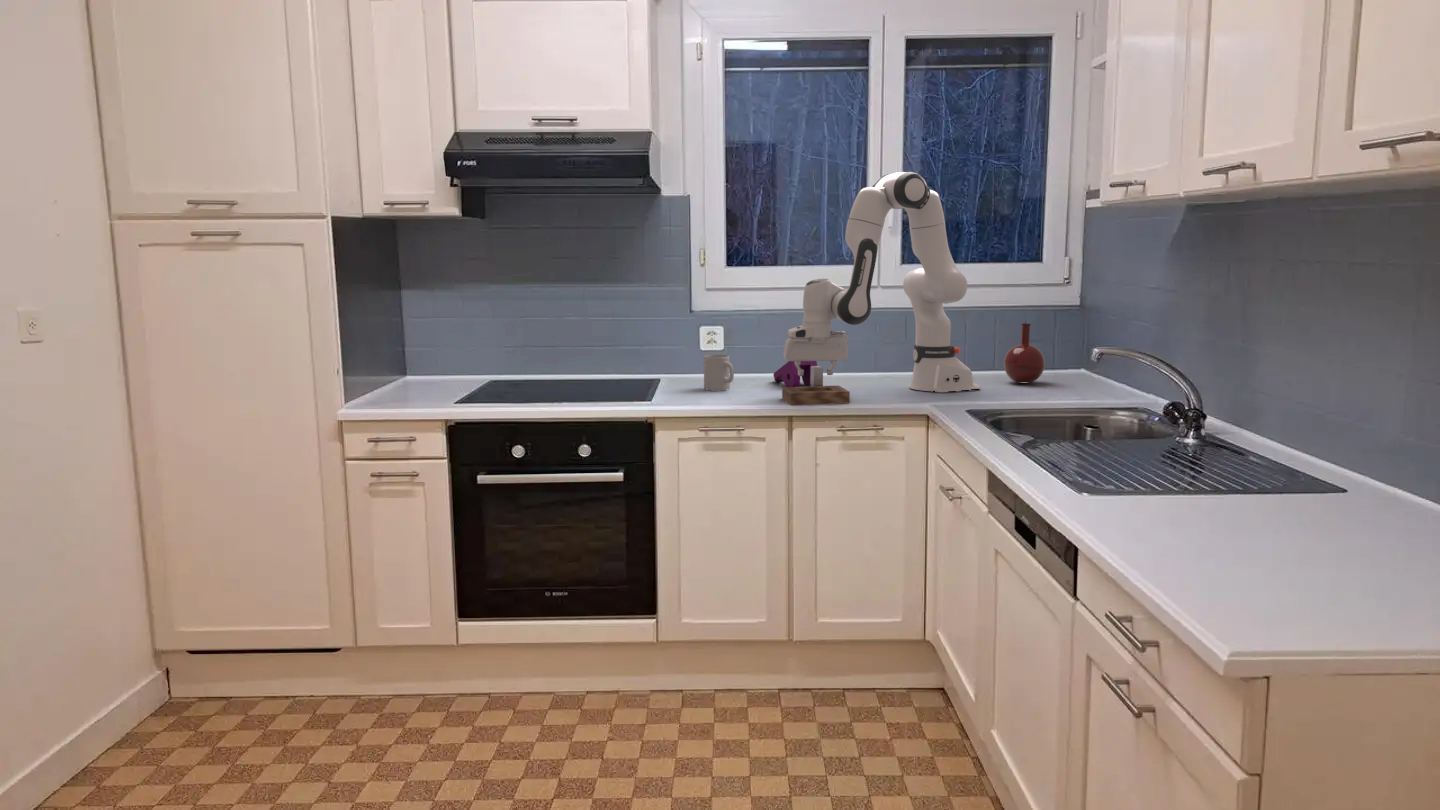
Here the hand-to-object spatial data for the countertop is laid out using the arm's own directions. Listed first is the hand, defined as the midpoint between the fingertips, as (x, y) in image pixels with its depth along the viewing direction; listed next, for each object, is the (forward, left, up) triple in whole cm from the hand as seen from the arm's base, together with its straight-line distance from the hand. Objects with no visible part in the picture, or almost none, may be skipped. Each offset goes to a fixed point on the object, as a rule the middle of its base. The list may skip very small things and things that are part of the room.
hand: (815, 375), depth 309 cm
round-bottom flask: (-75, -9, -7) cm, 75 cm away
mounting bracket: (+1, -23, -7) cm, 24 cm away
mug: (+27, -17, -7) cm, 33 cm away
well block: (+2, +10, -6) cm, 12 cm away
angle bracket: (+2, 0, -6) cm, 7 cm away
